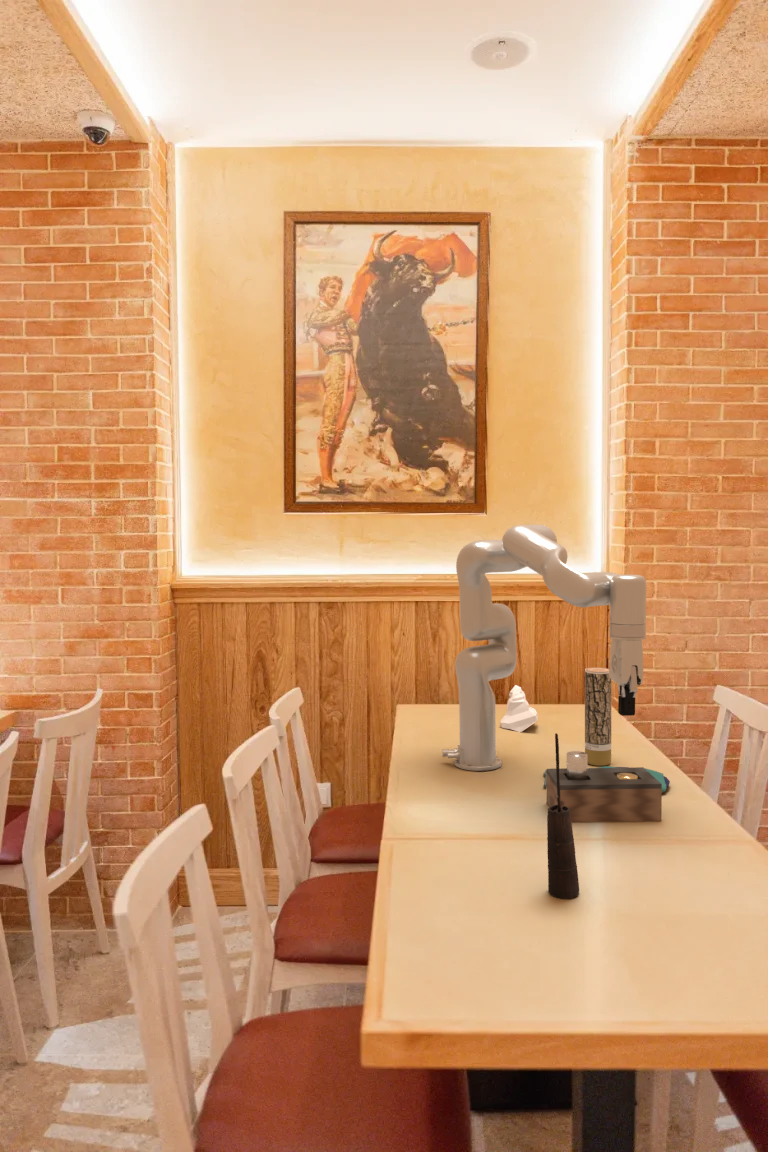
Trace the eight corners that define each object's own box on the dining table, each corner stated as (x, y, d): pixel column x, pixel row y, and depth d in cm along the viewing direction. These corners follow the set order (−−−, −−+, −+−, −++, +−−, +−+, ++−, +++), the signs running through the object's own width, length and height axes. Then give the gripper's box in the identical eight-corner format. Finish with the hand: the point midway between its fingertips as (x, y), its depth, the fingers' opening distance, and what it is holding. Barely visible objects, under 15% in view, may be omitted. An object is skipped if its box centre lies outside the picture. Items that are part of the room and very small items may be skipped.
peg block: (558, 822, 171) (558, 785, 171) (546, 803, 183) (546, 768, 183) (661, 820, 171) (661, 783, 171) (643, 801, 183) (643, 767, 183)
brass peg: (620, 810, 175) (620, 779, 175) (614, 803, 179) (614, 772, 179) (640, 810, 175) (640, 778, 175) (633, 803, 179) (634, 772, 179)
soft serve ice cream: (499, 737, 248) (488, 692, 250) (506, 729, 262) (496, 687, 264) (539, 729, 245) (527, 683, 246) (544, 722, 259) (532, 679, 260)
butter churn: (551, 873, 146) (551, 720, 144) (601, 887, 140) (601, 728, 138) (526, 891, 139) (525, 731, 137) (577, 907, 133) (577, 739, 131)
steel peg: (569, 788, 175) (569, 756, 174) (564, 782, 179) (564, 751, 179) (589, 788, 175) (589, 756, 174) (584, 782, 179) (584, 751, 179)
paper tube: (605, 768, 209) (605, 672, 208) (580, 763, 213) (580, 670, 212) (615, 762, 215) (615, 669, 213) (590, 758, 219) (591, 666, 218)
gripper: (601, 627, 182) (600, 707, 184) (620, 636, 168) (619, 723, 169) (634, 626, 182) (633, 706, 184) (656, 635, 168) (655, 722, 169)
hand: (626, 714), depth 176 cm, fingers closed
